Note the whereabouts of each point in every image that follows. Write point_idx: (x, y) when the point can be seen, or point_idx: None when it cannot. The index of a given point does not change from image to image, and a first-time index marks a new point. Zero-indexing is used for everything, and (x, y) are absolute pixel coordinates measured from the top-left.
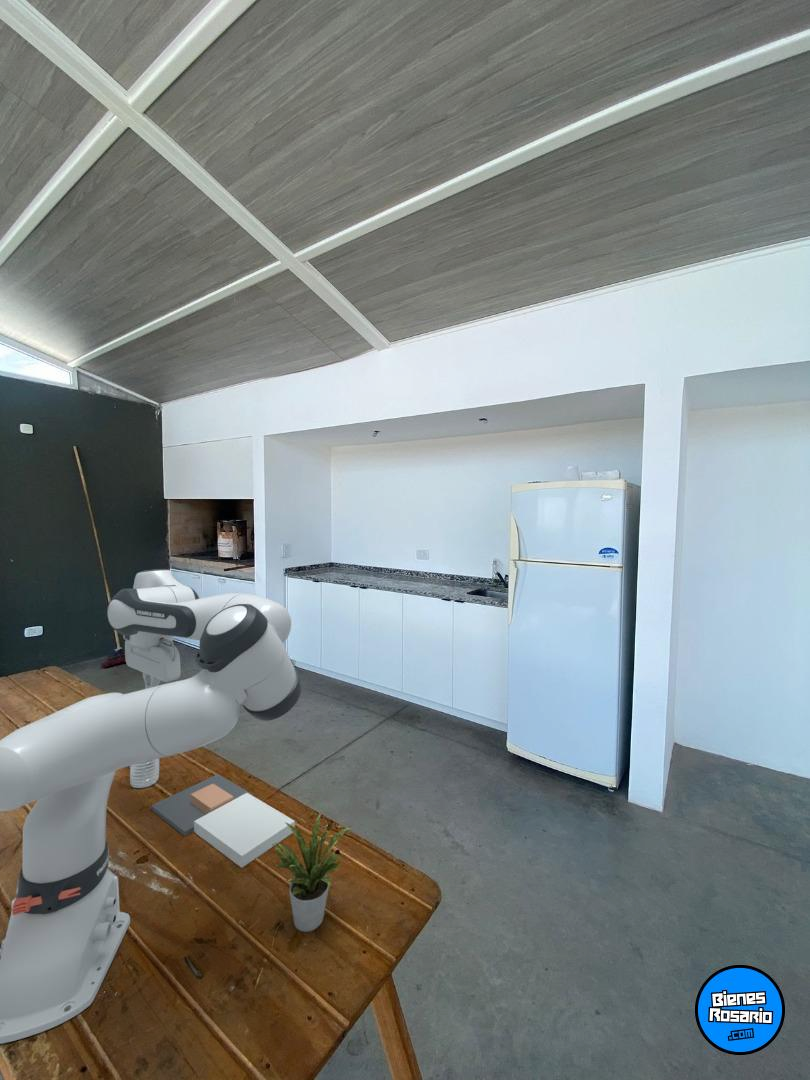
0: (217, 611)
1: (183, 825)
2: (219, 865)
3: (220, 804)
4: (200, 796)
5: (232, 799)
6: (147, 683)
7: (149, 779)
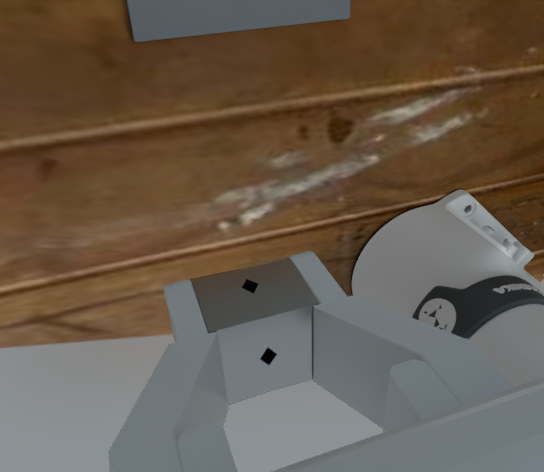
0: None
1: (321, 7)
2: (497, 3)
3: None
4: None
5: None
6: (225, 403)
7: None
